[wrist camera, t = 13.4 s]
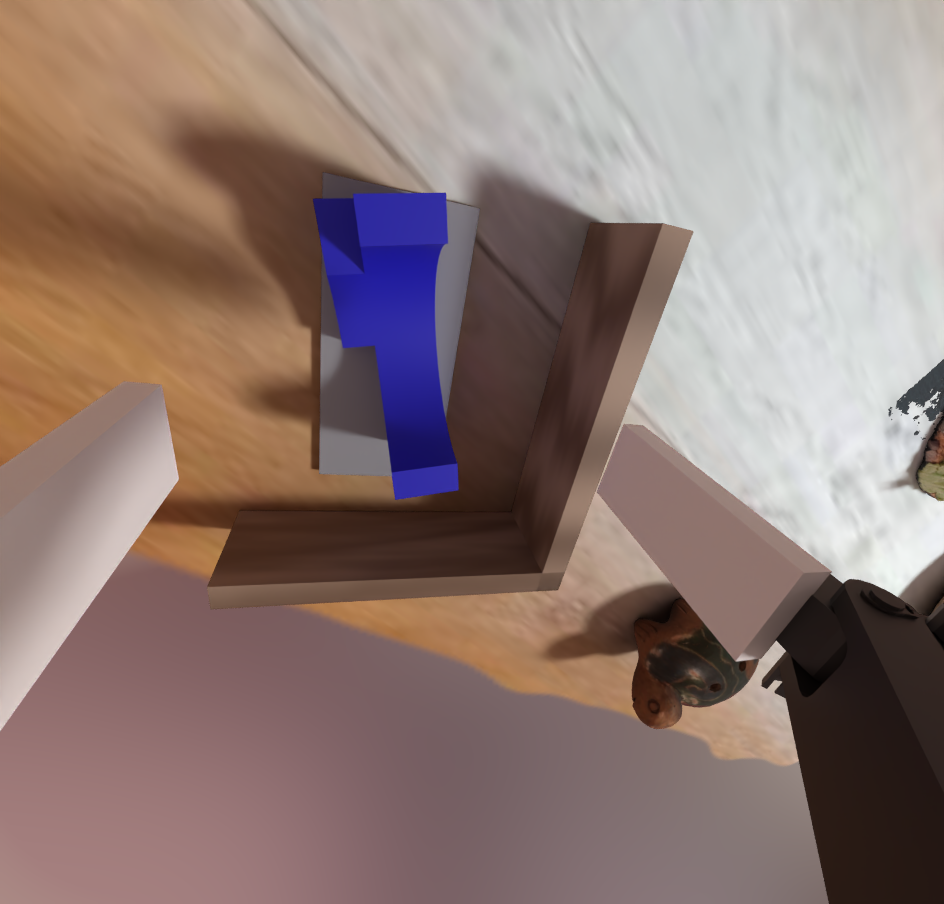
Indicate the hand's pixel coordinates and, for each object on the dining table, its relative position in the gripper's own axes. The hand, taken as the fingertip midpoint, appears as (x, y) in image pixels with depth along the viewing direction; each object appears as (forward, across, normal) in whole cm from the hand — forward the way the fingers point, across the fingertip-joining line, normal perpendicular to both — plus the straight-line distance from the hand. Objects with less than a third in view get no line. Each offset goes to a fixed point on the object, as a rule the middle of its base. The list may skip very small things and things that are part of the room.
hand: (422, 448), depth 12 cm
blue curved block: (+11, -1, 0) cm, 11 cm away
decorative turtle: (+12, +30, -25) cm, 40 cm away
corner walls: (+11, +1, -3) cm, 12 cm away
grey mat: (+11, 0, -1) cm, 11 cm away
